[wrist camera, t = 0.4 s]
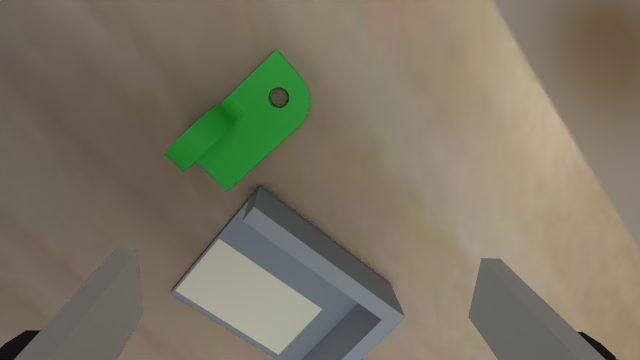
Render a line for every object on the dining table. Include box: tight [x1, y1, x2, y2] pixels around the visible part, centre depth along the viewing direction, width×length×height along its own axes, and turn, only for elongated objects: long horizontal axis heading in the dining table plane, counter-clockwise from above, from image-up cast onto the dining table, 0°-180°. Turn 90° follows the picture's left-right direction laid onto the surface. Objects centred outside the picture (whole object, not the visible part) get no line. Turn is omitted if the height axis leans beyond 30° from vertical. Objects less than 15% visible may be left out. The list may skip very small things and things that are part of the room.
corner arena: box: [170, 185, 405, 360], centre depth 38 cm, size 18×15×6 cm
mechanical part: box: [164, 50, 310, 191], centre depth 31 cm, size 12×6×8 cm, turn 132°
